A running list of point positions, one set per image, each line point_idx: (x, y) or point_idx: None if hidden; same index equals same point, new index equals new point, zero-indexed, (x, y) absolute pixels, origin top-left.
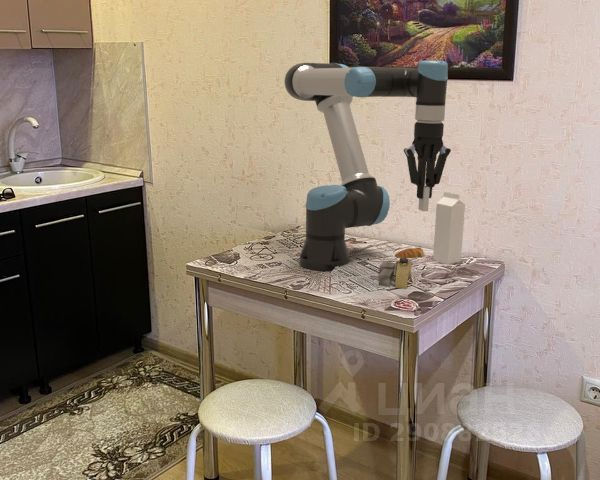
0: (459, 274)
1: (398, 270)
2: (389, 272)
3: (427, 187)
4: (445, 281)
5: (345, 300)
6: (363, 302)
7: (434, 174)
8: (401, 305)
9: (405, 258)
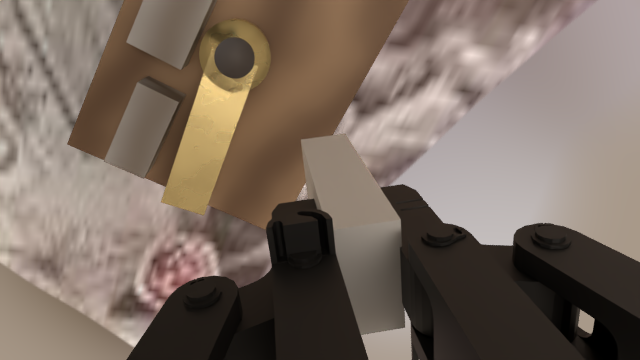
0: (484, 3)
1: (179, 171)
2: (151, 139)
3: (376, 329)
4: (392, 82)
5: None
6: (50, 254)
7: (612, 322)
8: (166, 284)
9: (245, 48)
